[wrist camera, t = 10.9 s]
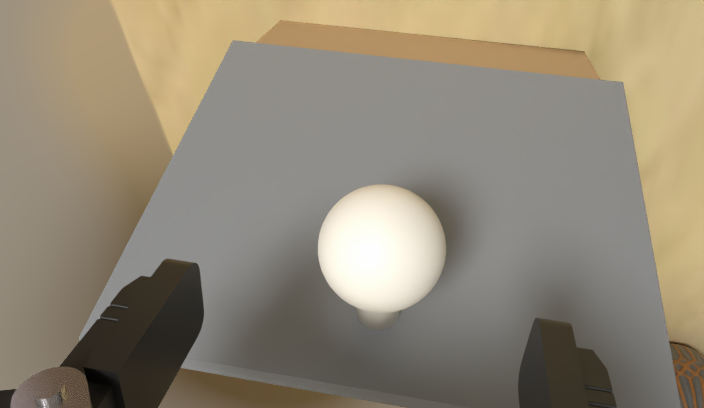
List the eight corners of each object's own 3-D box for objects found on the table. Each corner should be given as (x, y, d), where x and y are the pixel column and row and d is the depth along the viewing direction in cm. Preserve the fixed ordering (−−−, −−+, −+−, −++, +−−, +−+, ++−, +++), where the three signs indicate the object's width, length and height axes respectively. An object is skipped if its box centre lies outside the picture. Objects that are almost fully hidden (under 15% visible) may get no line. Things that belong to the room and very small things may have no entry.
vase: (620, 330, 48) (648, 418, 40) (714, 328, 46) (760, 419, 39) (618, 389, 51) (643, 479, 44) (705, 389, 50) (746, 483, 42)
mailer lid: (616, 97, 30) (673, -30, 25) (673, 454, 19) (802, 367, 14) (235, 55, 32) (211, -69, 27) (88, 351, 21) (-4, 241, 16)
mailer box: (583, 51, 37) (609, 96, 30) (529, 252, 45) (540, 322, 39) (280, 20, 39) (241, 55, 33) (282, 217, 48) (252, 277, 41)
